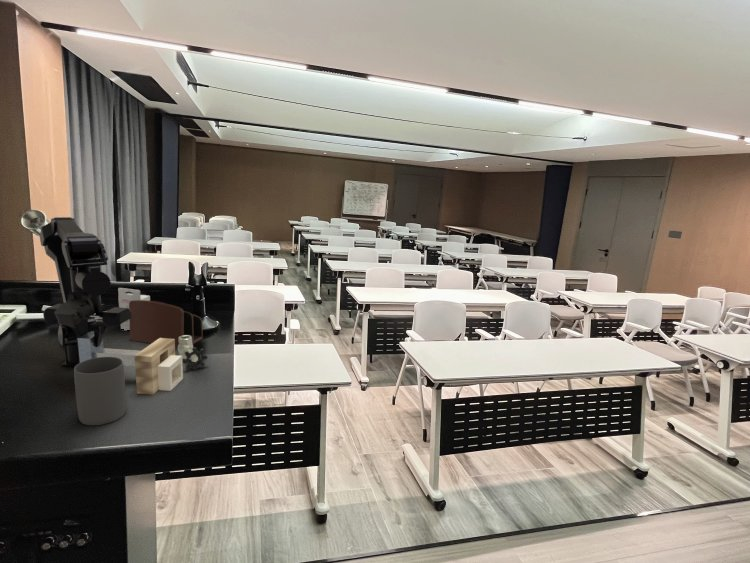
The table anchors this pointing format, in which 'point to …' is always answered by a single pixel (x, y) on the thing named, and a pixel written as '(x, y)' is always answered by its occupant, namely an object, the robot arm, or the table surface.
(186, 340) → the valve
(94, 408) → the mug
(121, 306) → the ink box
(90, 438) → the table surface
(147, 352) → the wooden block
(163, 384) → the block
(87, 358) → the pale grey block
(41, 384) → the table surface
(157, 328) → the letter holder
